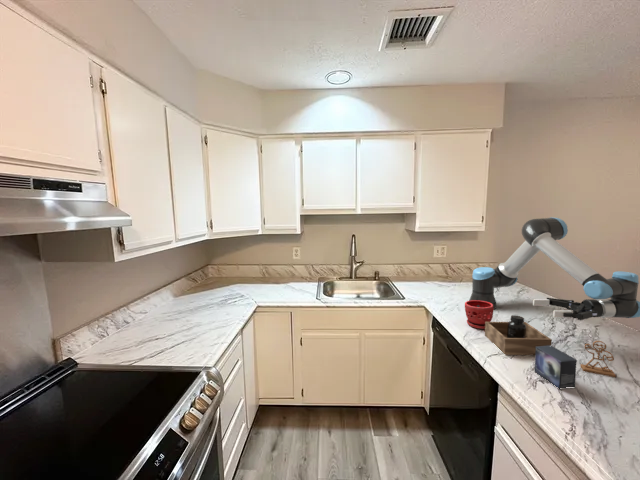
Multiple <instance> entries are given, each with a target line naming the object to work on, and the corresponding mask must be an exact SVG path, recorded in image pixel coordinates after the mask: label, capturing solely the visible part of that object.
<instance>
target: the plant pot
mask: <svg viewBox="0 0 640 480" xmlns="http://www.w3.org/2000/svg"><path fill="white" fill-rule="evenodd" d="M477 305H479V306H480V307H477ZM473 306H475V307H473ZM482 307H484V308H482ZM464 311H465V316H466V323H467V325H469V326H470V327H472V328H476V329H481V330H485V322H492V320H493V317H494V309H493V304H491V303H489V302H486V301H479V300H471V301H469V300H466V301H465V302H464Z"/></svg>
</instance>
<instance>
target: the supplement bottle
mask: <svg viewBox="0 0 640 480" xmlns="http://www.w3.org/2000/svg"><path fill="white" fill-rule="evenodd" d="M507 322H508V329H507V338H526V325H525V324H524V322H525V318H524V317H523V316H521V315H516V314H512V315H511V316H510V321H507Z"/></svg>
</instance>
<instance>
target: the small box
mask: <svg viewBox="0 0 640 480" xmlns="http://www.w3.org/2000/svg"><path fill="white" fill-rule="evenodd" d="M577 362H578V360H577V359H576V358H574V357H573V356H570V355H569V354H567V353H566V352H563V351H562V350H560V349H558V348H556V347H554V346H552V344H551V345H547V346H538V347H536V351H535V355H534V373H535V374H536V373H537V374H536V375H538V376H539V375H540V378H542V377H543V378H542V379H543V380H545V379H546V380H548V381H549V382H550V383H549V382H548V381H547V382H548V383H549V384H551V383H552V384H553V385H552V384H551V385H552V386H554V385H555V386H556V387H558V388H559V389H558V388H557V389H558V390H561V389H560V388H566V387H575V388H576V376H577V375H576V373H577ZM546 380H545V381H546ZM555 386H554V387H555ZM556 387H555V388H556Z"/></svg>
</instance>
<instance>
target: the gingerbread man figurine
mask: <svg viewBox="0 0 640 480" xmlns="http://www.w3.org/2000/svg"><path fill="white" fill-rule="evenodd" d="M599 343H600V344H599ZM603 344H604V345H603ZM592 347H593V348H592ZM584 349H585V351H586V352H588V353H589V354H592V358H591V359H590V360H589V361H588V362H587V363H586V364H583V363H580V366H579V367H580V368H581V370H582V371H583V372H584V371H585V372H586V373H591V374H596V375H599V376H606V377H610V378H611V377H612V378H616V377H617V375H616V374H615V372H614V371H613V369H610V368H609V366H608V364H607V363H606V362H605V358H606V360H608V362H613V361H614V359H615V357H614V355H613V354H612V353H611V352H610V351H607V345H606V343H605V342H604V341H602V340H595V341H593V342H592V345H591V344H590V343H585V344H584ZM588 349H592V351H593V350H594V351H595V353H597V356H596V357H595V353H594V352H591V351H589V350H588ZM603 352H604V353H608V354H610V355H609V356H607V355H605V354H603ZM600 353H601V354H603V355H602V358H601V357H600V355H601V354H600ZM594 360H597V361H596V362H595V363H594V364H591V363H592V362H593V361H594ZM599 361H603V362H604V364H605V366H601V364H600V362H599ZM597 365H599V367H598V366H597Z"/></svg>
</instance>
